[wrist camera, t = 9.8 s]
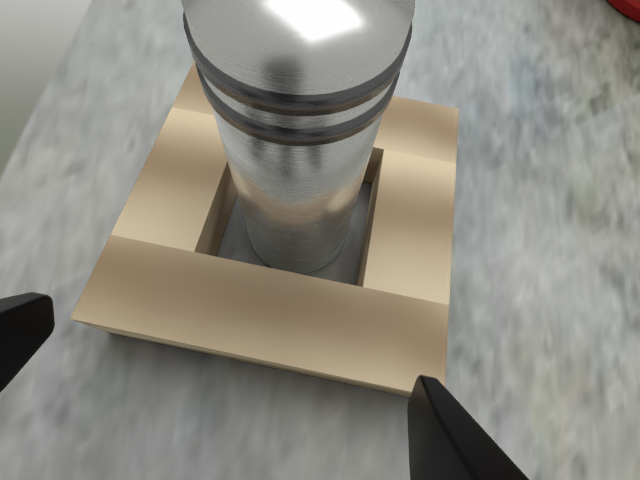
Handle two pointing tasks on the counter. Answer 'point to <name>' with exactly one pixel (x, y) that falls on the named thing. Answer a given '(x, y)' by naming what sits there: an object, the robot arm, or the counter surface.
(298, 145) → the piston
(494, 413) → the counter surface
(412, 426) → the robot arm
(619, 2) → the canned food
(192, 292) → the tan square ring
